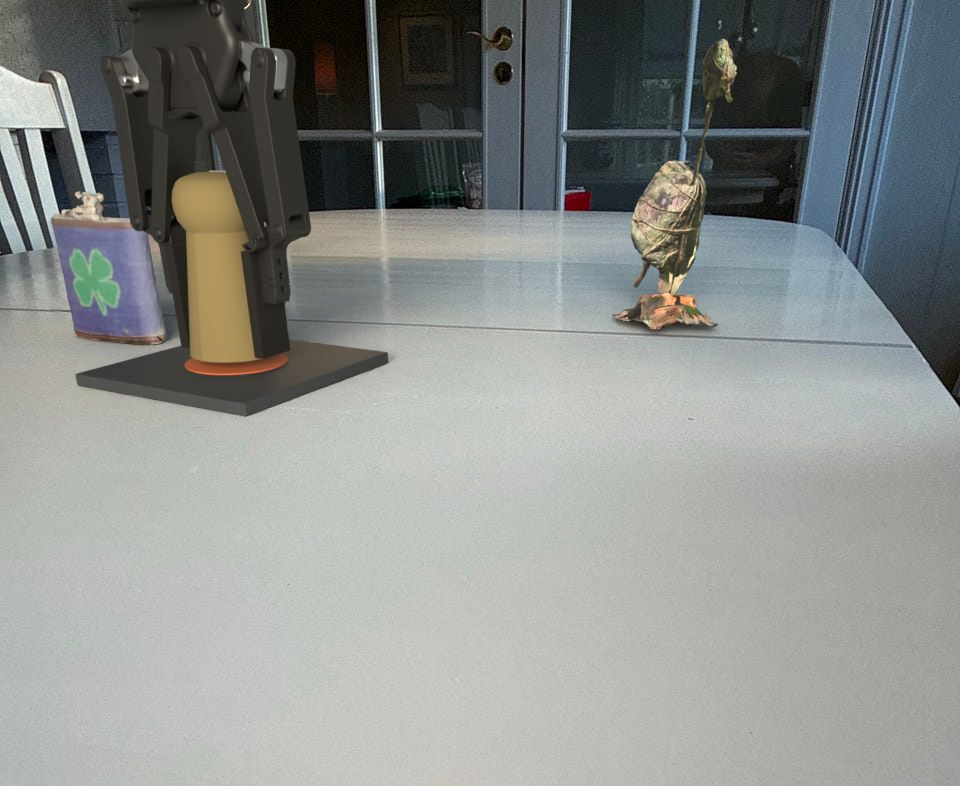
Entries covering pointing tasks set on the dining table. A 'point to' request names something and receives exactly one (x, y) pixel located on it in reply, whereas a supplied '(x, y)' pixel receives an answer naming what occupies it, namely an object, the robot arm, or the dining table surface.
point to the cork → (214, 268)
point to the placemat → (233, 376)
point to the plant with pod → (676, 216)
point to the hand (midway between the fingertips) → (235, 348)
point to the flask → (108, 275)
